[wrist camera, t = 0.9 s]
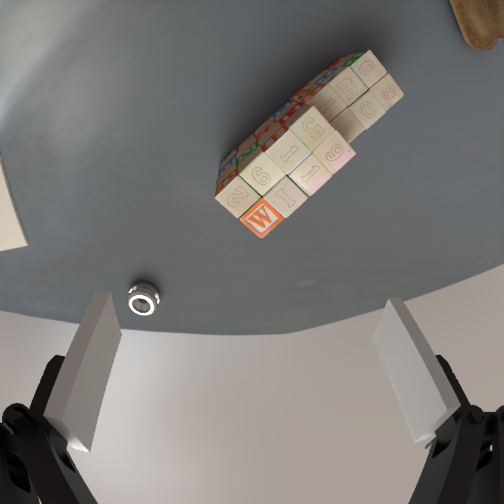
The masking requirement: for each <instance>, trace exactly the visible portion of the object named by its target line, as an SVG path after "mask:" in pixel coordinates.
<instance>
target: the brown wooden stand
mask: <svg viewBox="0 0 504 504" xmlns="http://www.w3.org/2000/svg"><path fill="white" fill-rule="evenodd" d="M449 1H450V4H451V7H452V9H453V12H454V15H455V17H456V20H457V23H458V25H459V28H460V31H461V33H462V36H463V37H464V39H465V41H466V43H467V44H468V45H469V46H471V47H473V48H475V49H479V50H488V49H492V48H493V47H494V46H495V45H496V44H497V37H500V38H503V39H504V0H449Z"/></svg>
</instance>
